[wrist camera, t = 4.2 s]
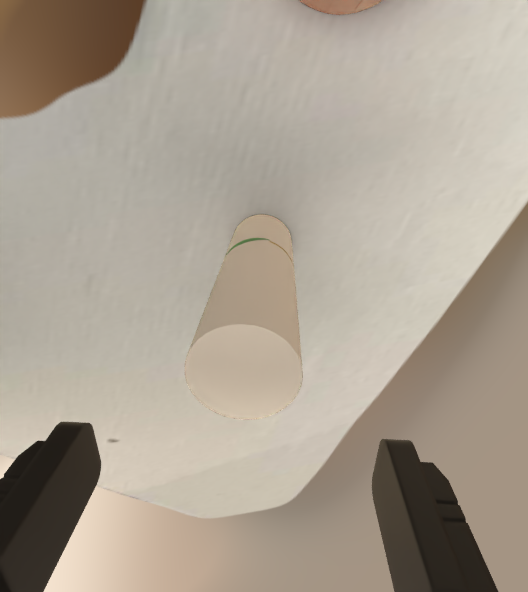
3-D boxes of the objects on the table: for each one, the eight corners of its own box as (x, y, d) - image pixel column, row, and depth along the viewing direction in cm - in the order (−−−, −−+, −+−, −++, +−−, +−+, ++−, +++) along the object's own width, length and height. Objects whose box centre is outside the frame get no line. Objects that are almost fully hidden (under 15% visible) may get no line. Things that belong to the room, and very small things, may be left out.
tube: (301, 228, 26) (322, 349, 13) (278, 279, 28) (275, 432, 15) (244, 205, 26) (204, 306, 12) (224, 259, 28) (171, 399, 14)
